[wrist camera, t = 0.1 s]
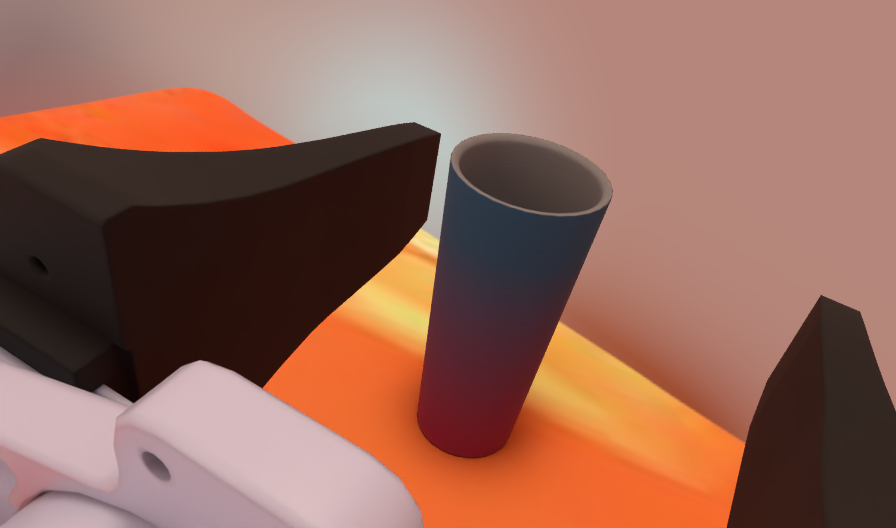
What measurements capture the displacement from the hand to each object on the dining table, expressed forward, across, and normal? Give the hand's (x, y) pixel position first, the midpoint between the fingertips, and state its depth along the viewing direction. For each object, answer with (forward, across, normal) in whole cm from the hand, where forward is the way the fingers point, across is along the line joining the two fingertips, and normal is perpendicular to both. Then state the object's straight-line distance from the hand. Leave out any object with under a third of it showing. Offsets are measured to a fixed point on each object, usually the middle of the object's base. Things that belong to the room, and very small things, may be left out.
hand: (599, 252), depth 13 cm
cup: (+13, +6, +23) cm, 27 cm away
